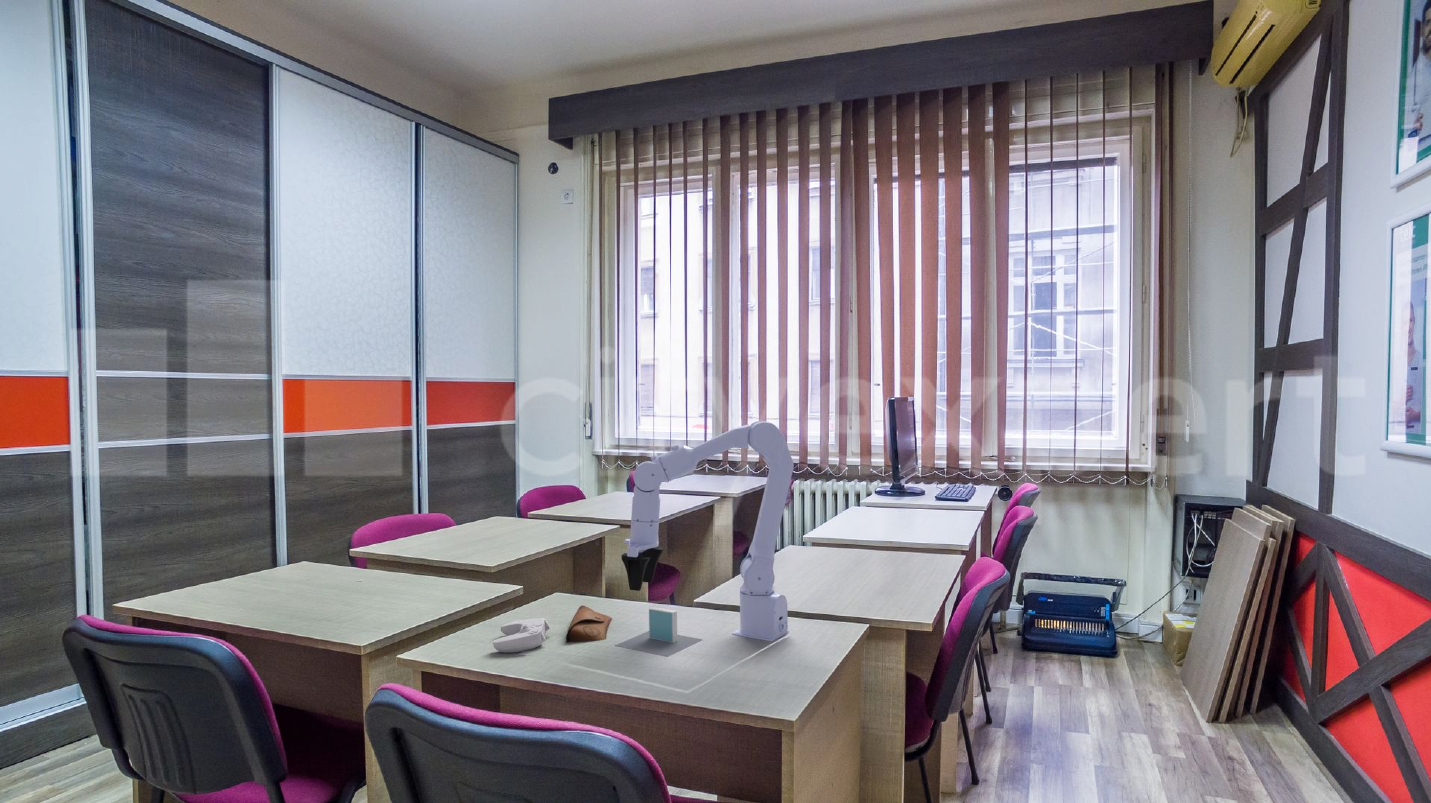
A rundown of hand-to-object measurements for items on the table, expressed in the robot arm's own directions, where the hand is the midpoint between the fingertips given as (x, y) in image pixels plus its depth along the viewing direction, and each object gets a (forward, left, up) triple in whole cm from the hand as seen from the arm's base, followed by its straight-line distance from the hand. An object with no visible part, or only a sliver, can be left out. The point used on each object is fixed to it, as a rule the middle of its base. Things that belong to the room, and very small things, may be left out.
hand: (641, 585), depth 158 cm
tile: (-5, 0, -10) cm, 12 cm away
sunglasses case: (+12, +2, -11) cm, 17 cm away
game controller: (+19, +15, -11) cm, 27 cm away
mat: (-6, +2, -11) cm, 12 cm away
